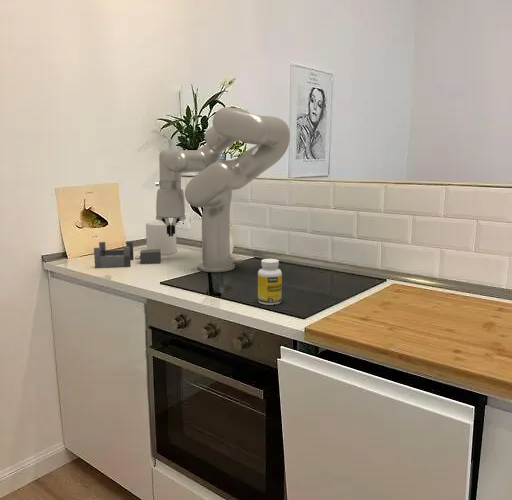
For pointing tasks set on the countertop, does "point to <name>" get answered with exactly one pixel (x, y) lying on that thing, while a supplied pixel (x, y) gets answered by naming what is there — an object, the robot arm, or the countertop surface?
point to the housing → (113, 256)
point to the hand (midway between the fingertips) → (171, 235)
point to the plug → (150, 256)
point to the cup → (160, 237)
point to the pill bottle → (269, 282)
